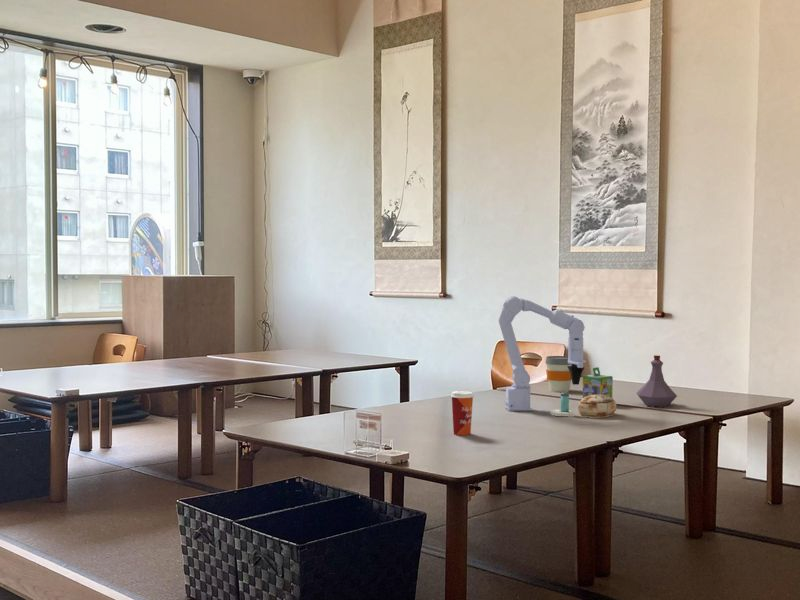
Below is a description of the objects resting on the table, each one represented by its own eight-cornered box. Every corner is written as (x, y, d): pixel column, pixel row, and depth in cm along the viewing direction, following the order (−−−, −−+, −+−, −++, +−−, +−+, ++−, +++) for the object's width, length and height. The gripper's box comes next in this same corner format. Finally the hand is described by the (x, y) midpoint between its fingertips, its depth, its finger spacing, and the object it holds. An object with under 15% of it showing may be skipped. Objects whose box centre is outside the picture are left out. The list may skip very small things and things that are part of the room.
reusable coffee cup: (579, 390, 411) (579, 357, 410) (563, 393, 402) (563, 359, 401) (555, 387, 419) (555, 355, 419) (539, 390, 410) (539, 357, 410)
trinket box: (617, 413, 350) (618, 393, 349) (612, 419, 336) (612, 398, 335) (582, 411, 354) (582, 391, 354) (575, 417, 340) (575, 396, 340)
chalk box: (601, 406, 365) (602, 369, 365) (581, 404, 372) (582, 367, 371) (613, 404, 372) (613, 367, 372) (593, 401, 378) (593, 366, 378)
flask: (627, 402, 375) (628, 354, 374) (663, 401, 380) (663, 353, 379) (649, 409, 359) (649, 358, 359) (685, 407, 364) (686, 357, 363)
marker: (561, 412, 344) (561, 393, 343) (559, 410, 347) (559, 392, 347) (569, 412, 344) (569, 393, 344) (567, 410, 347) (568, 392, 347)
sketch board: (555, 416, 341) (555, 413, 341) (550, 413, 349) (550, 409, 349) (573, 416, 342) (573, 413, 342) (568, 412, 350) (568, 409, 350)
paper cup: (466, 437, 301) (467, 394, 301) (446, 434, 305) (446, 392, 305) (477, 433, 308) (478, 391, 307) (457, 430, 312) (457, 390, 311)
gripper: (591, 351, 348) (591, 386, 349) (580, 347, 363) (580, 381, 363) (572, 351, 348) (572, 386, 348) (563, 347, 362) (563, 382, 363)
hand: (575, 384), depth 356 cm, fingers closed
